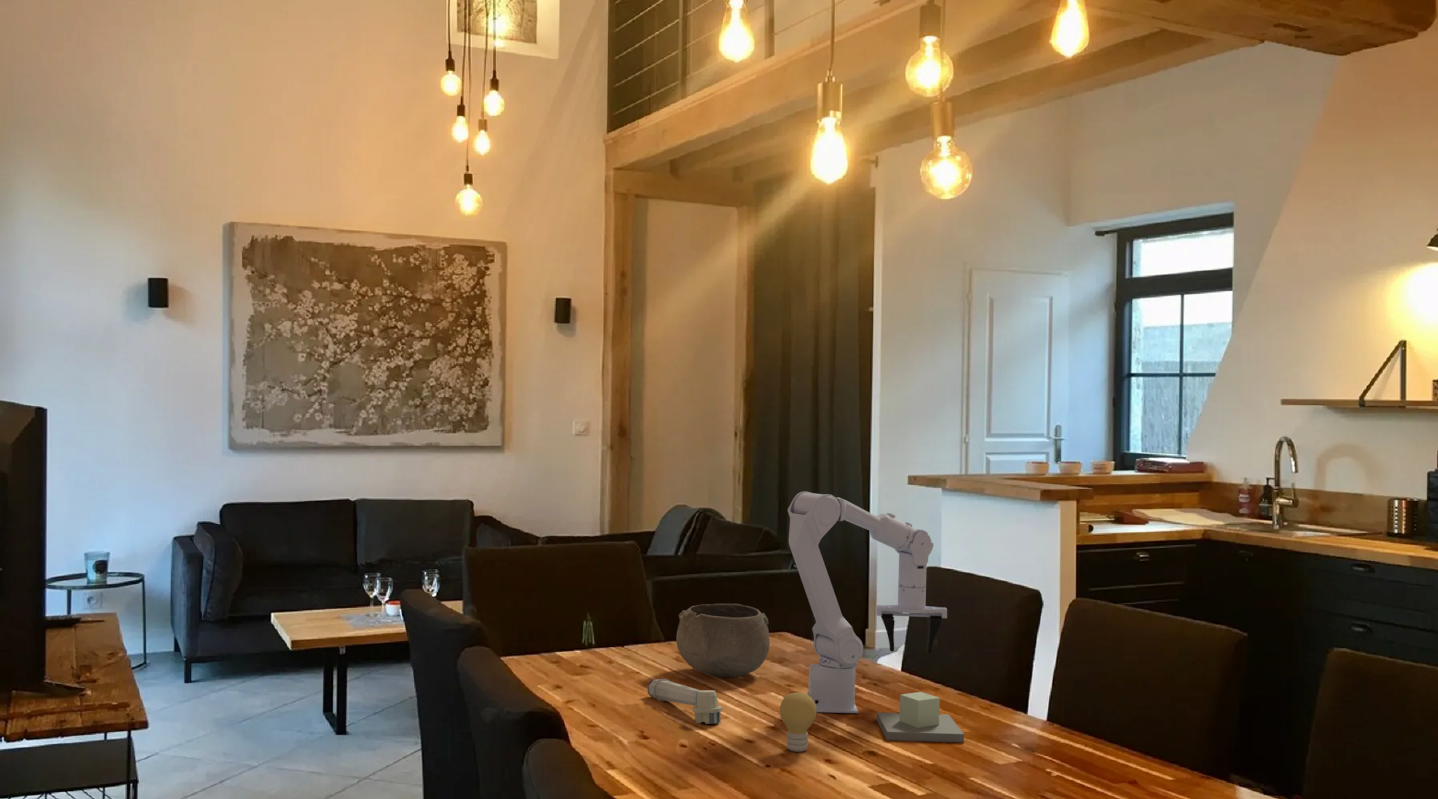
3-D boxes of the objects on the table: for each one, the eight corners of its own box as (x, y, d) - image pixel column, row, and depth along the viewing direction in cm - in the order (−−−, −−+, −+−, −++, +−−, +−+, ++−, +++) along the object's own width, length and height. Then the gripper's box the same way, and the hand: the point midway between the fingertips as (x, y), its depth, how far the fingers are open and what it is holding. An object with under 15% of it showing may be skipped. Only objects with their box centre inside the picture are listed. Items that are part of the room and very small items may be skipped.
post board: (887, 740, 209) (887, 712, 209) (876, 720, 223) (877, 694, 223) (963, 742, 209) (964, 714, 209) (948, 722, 223) (949, 696, 223)
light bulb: (820, 754, 199) (822, 696, 199) (786, 756, 197) (787, 697, 197) (807, 744, 205) (809, 687, 205) (773, 745, 203) (775, 689, 204)
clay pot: (785, 673, 262) (786, 607, 263) (737, 690, 245) (739, 619, 245) (707, 660, 274) (709, 597, 274) (657, 676, 256) (659, 608, 256)
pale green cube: (899, 721, 217) (900, 694, 217) (920, 718, 220) (921, 691, 220) (917, 727, 213) (918, 700, 213) (938, 724, 215) (939, 697, 215)
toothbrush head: (666, 676, 239) (726, 685, 218) (667, 709, 238) (728, 722, 217) (643, 679, 236) (702, 688, 215) (644, 712, 235) (703, 725, 214)
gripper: (878, 587, 236) (876, 653, 236) (949, 590, 235) (948, 656, 235) (876, 582, 243) (874, 646, 243) (945, 585, 242) (943, 649, 242)
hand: (910, 651), depth 239 cm, fingers open, 7 cm apart
